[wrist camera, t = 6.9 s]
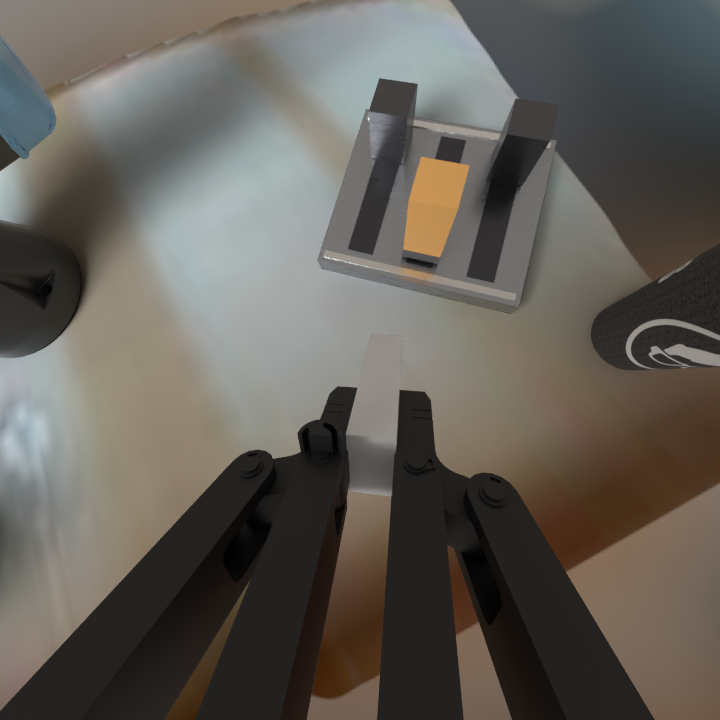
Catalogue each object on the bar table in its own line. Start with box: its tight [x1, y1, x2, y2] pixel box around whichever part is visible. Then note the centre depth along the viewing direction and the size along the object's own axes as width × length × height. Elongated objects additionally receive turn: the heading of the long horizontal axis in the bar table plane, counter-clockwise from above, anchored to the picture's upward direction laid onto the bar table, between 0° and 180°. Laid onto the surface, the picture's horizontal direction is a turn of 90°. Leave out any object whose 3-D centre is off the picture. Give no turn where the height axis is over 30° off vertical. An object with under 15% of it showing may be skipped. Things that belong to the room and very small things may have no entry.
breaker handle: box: [402, 157, 470, 264], centre depth 25 cm, size 4×4×8 cm
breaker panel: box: [318, 78, 558, 313], centre depth 28 cm, size 20×18×7 cm
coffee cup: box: [591, 244, 720, 370], centre depth 21 cm, size 10×10×15 cm
